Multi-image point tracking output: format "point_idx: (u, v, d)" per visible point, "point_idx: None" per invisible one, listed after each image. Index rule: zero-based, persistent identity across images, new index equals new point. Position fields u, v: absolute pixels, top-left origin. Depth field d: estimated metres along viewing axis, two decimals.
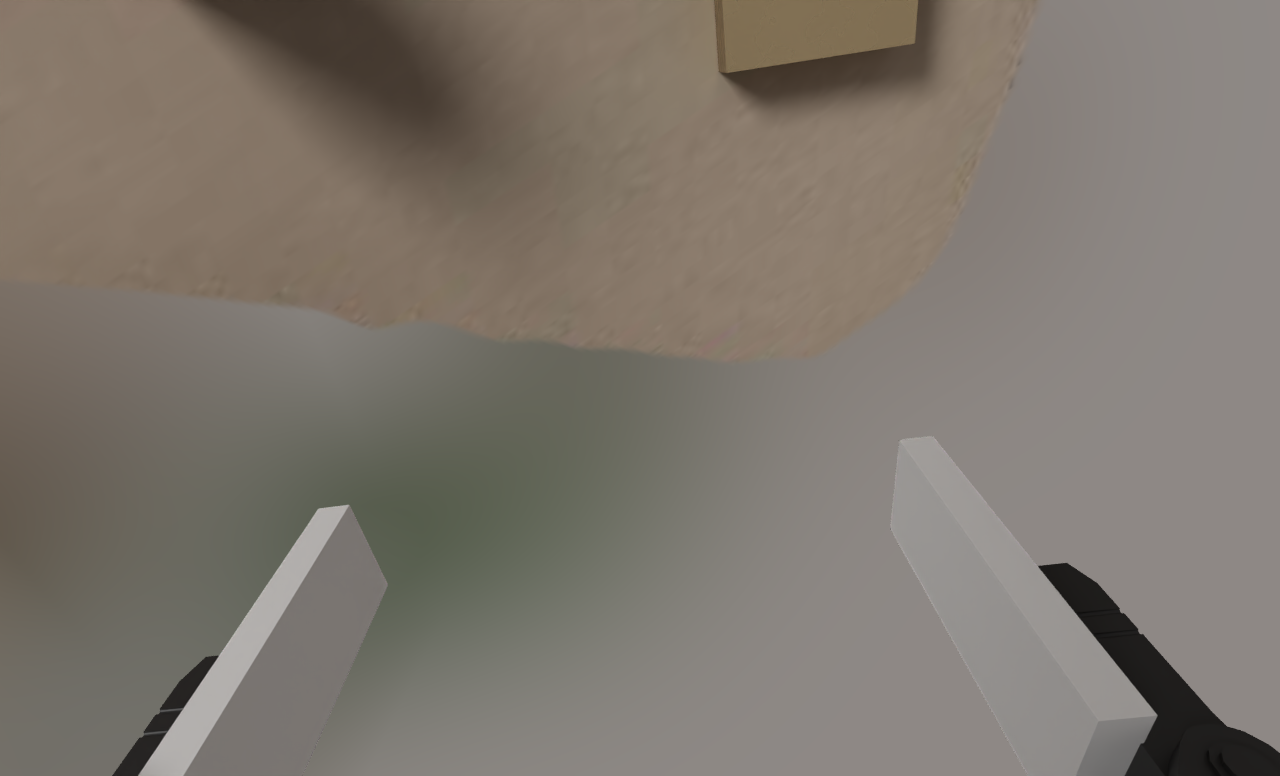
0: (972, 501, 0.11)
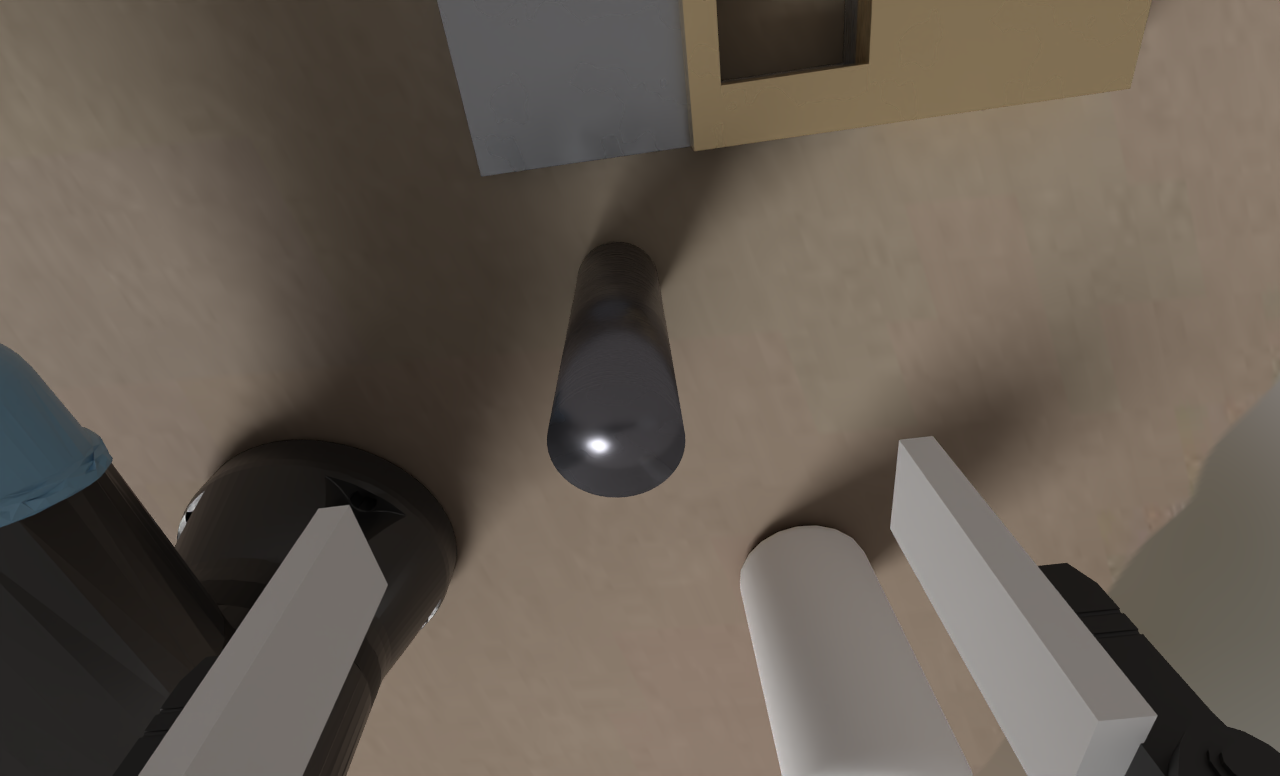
0: (972, 501, 0.11)
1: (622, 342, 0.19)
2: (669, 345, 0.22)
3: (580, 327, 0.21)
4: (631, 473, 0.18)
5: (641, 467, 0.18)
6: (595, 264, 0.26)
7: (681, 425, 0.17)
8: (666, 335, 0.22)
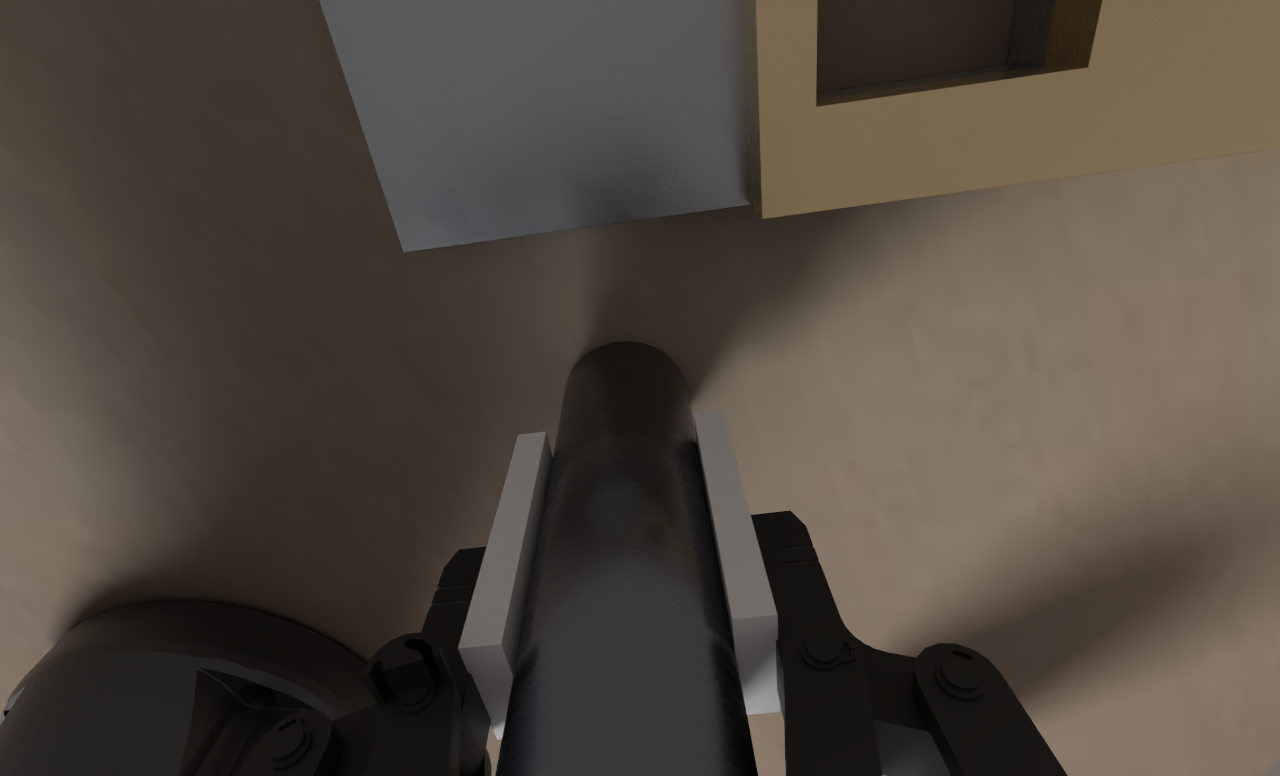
0: (726, 461, 0.14)
1: (641, 671, 0.09)
2: None
3: (556, 578, 0.11)
4: None
5: None
6: (591, 391, 0.16)
7: None
8: (717, 568, 0.12)
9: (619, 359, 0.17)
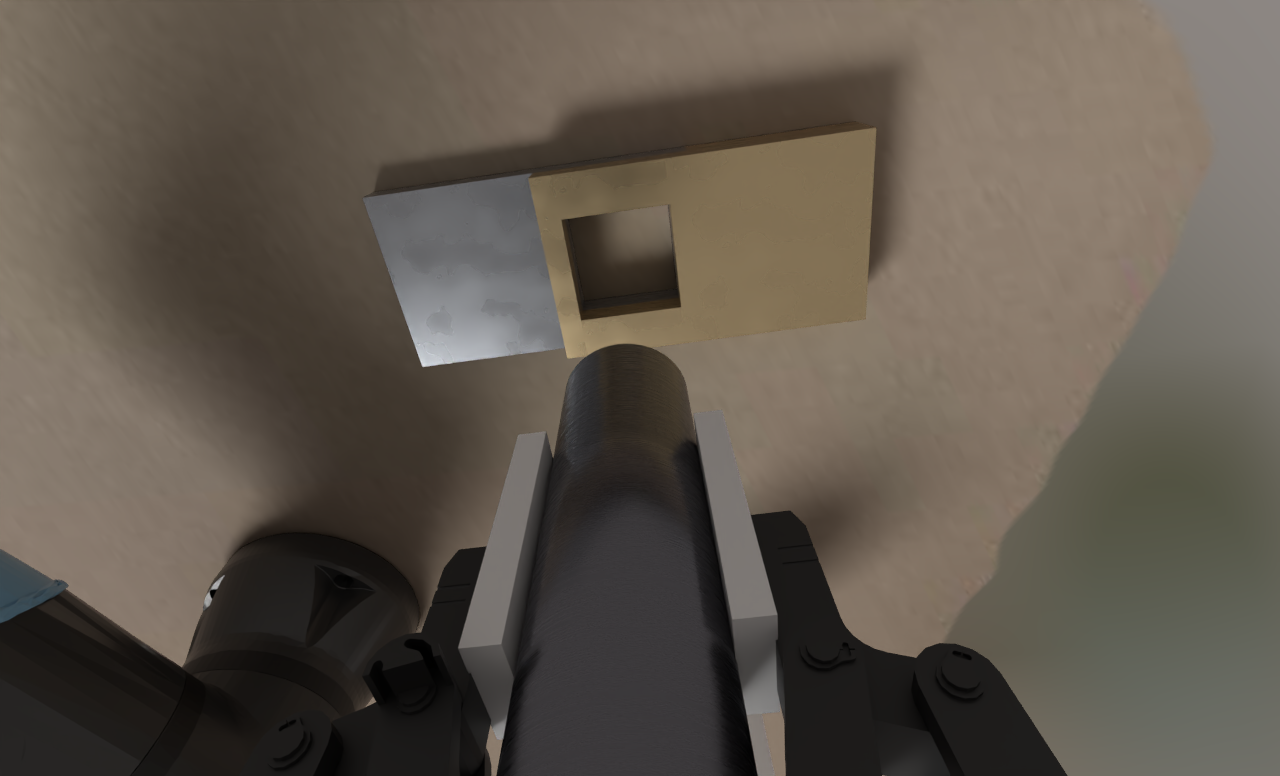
0: (725, 461, 0.14)
1: (642, 675, 0.09)
2: None
3: (556, 582, 0.11)
4: None
5: None
6: (591, 393, 0.16)
7: None
8: (718, 571, 0.12)
9: (619, 361, 0.17)
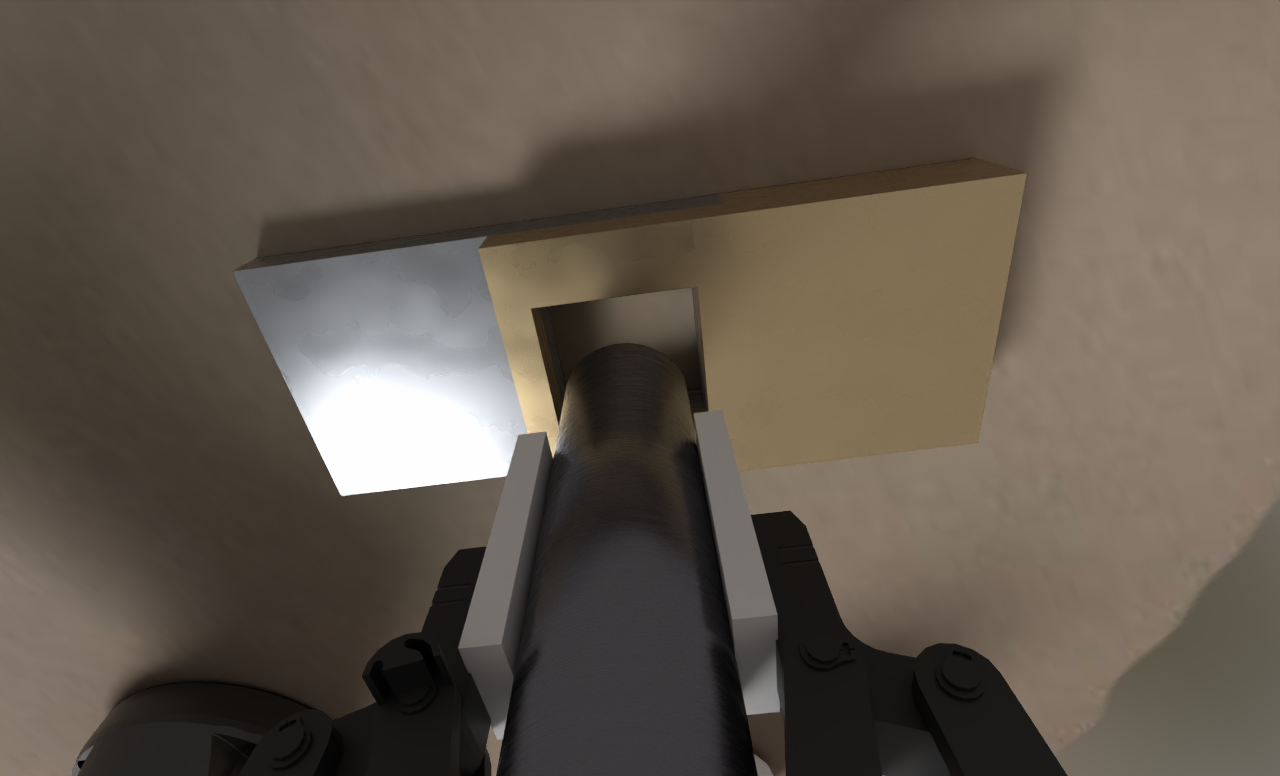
0: (726, 461, 0.14)
1: (642, 674, 0.09)
2: None
3: (556, 581, 0.11)
4: None
5: None
6: (591, 393, 0.16)
7: None
8: (718, 571, 0.12)
9: (619, 361, 0.17)
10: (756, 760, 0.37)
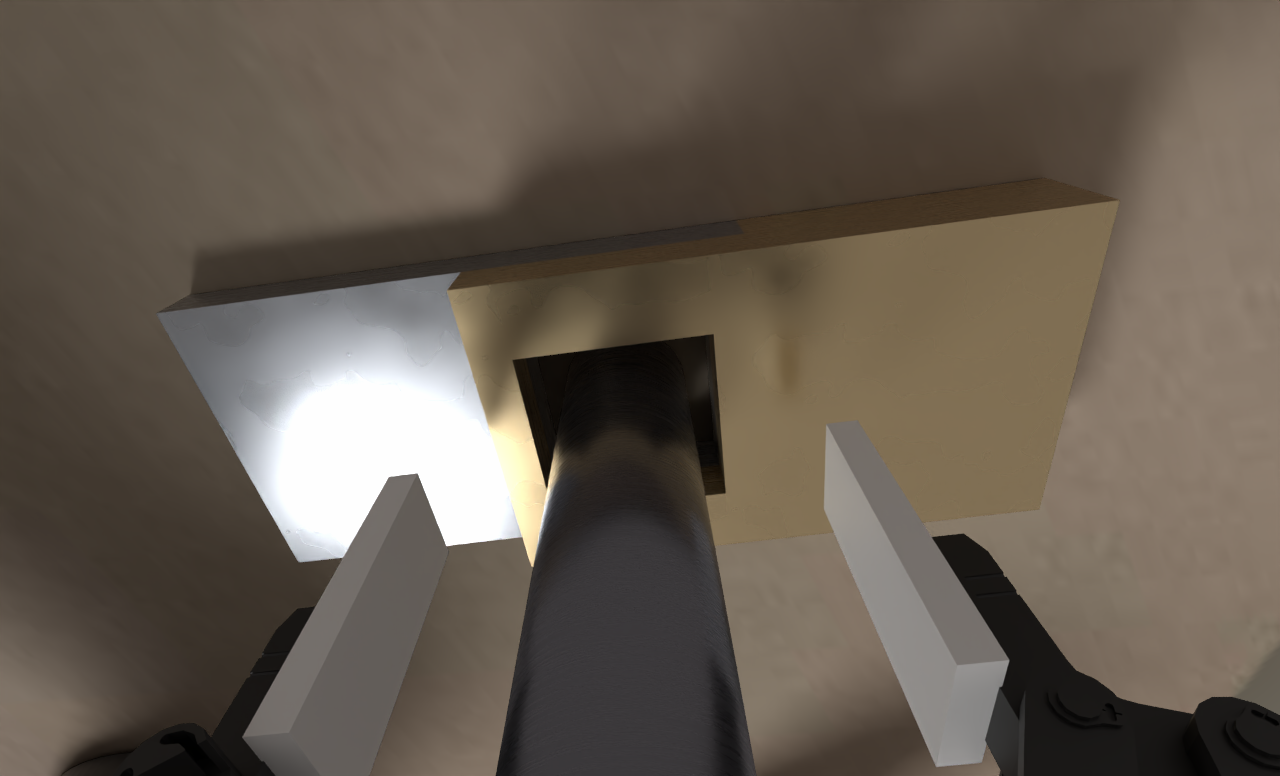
0: (882, 478, 0.12)
1: (639, 616, 0.10)
2: None
3: (561, 541, 0.12)
4: None
5: None
6: (592, 375, 0.17)
7: None
8: (710, 535, 0.13)
9: (619, 346, 0.18)
10: None
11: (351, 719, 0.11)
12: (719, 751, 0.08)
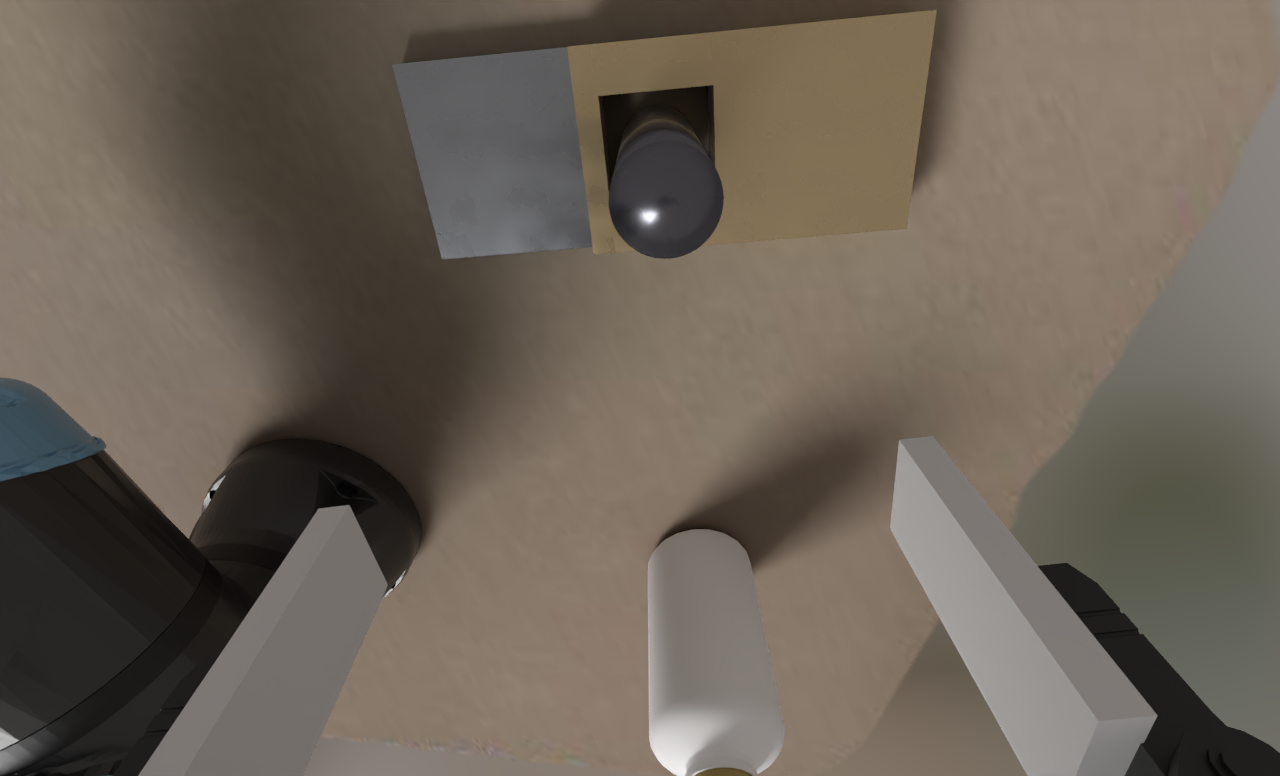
0: (972, 501, 0.11)
1: (673, 131, 0.22)
2: None
3: (633, 134, 0.24)
4: (676, 234, 0.21)
5: (684, 228, 0.21)
6: (641, 113, 0.30)
7: (721, 187, 0.20)
8: None
9: (657, 107, 0.31)
10: (736, 541, 0.46)
11: None
12: (705, 153, 0.21)
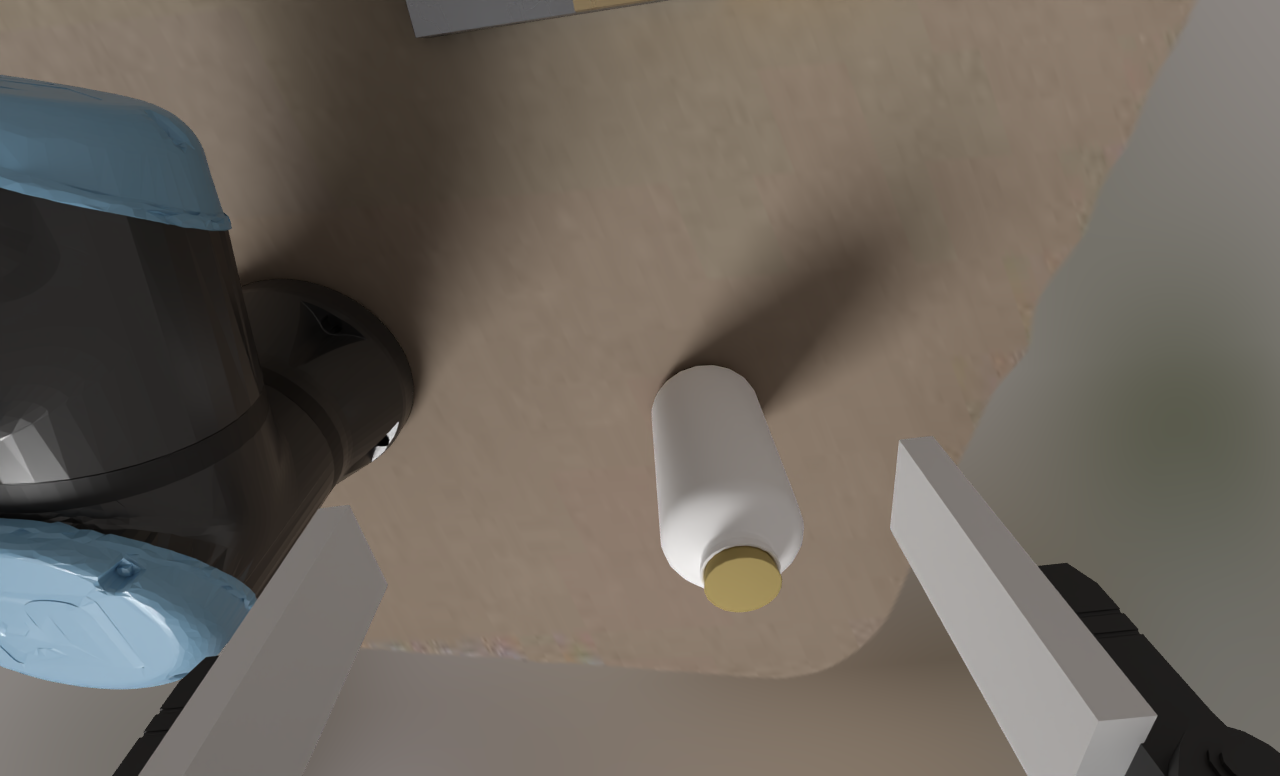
0: (972, 501, 0.11)
1: None
2: None
3: None
4: None
5: None
6: None
7: None
8: None
9: None
10: (742, 376, 0.44)
11: None
12: None
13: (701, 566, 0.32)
